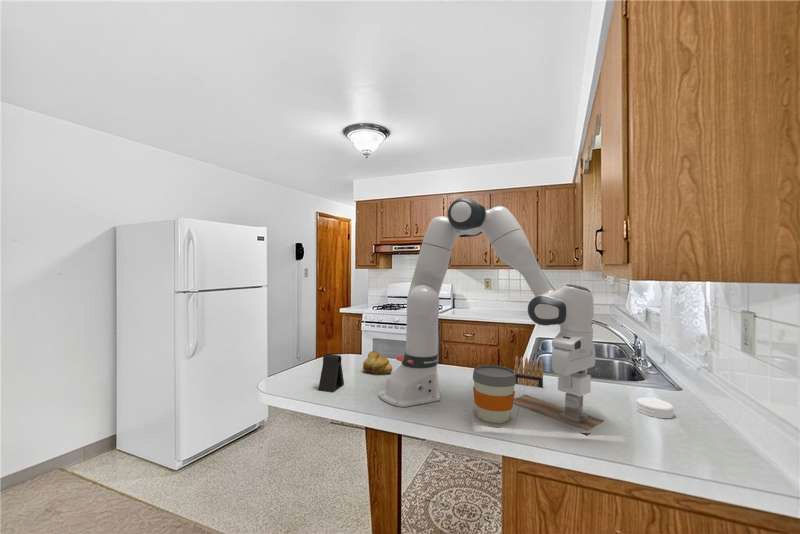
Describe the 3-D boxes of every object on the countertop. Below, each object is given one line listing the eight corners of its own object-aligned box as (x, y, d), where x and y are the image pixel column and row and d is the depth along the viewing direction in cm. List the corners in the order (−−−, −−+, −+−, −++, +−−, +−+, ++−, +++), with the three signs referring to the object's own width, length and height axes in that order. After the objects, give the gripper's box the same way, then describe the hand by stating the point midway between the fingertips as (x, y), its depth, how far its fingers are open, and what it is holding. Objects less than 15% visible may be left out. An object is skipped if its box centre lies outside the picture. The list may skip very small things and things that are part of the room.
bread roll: (396, 372, 156) (396, 353, 156) (383, 378, 148) (383, 358, 148) (371, 367, 163) (372, 349, 163) (358, 372, 155) (358, 353, 155)
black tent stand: (333, 392, 130) (334, 358, 130) (318, 390, 131) (318, 357, 131) (344, 384, 138) (345, 353, 138) (329, 382, 140) (330, 351, 140)
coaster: (628, 409, 122) (629, 398, 122) (649, 405, 126) (650, 395, 126) (659, 421, 113) (659, 409, 113) (680, 417, 117) (681, 406, 117)
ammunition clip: (543, 390, 138) (544, 358, 138) (542, 391, 136) (543, 359, 136) (513, 385, 142) (514, 355, 142) (512, 387, 141) (513, 356, 141)
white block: (580, 396, 105) (580, 377, 105) (557, 390, 110) (558, 371, 110) (590, 392, 109) (591, 373, 109) (568, 385, 115) (569, 368, 114)
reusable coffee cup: (509, 434, 101) (511, 380, 101) (465, 423, 107) (467, 372, 107) (518, 418, 112) (520, 369, 112) (478, 409, 118) (479, 362, 118)
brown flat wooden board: (587, 435, 101) (588, 405, 101) (506, 405, 122) (507, 380, 121) (604, 425, 108) (605, 396, 108) (525, 398, 128) (526, 374, 128)
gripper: (581, 334, 119) (579, 376, 119) (548, 341, 106) (546, 389, 106) (601, 337, 114) (600, 382, 114) (570, 345, 101) (568, 395, 101)
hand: (574, 385), depth 110 cm, fingers closed on white block, 7 cm apart
